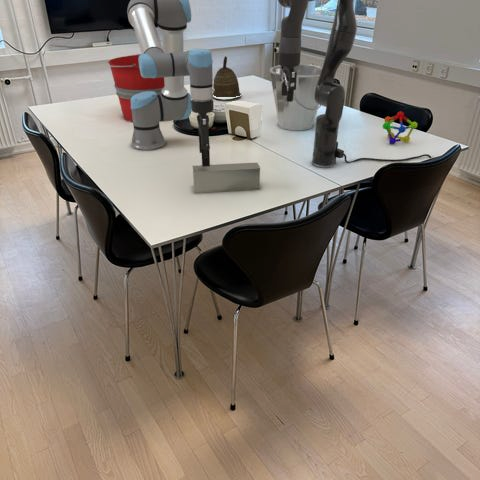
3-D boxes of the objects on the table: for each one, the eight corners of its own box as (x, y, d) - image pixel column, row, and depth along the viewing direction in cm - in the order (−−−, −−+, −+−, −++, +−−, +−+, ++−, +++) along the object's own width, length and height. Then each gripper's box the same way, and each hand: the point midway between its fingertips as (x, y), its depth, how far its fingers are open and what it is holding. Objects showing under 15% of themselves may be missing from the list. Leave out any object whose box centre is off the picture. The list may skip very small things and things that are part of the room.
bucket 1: (122, 106, 262) (115, 52, 246) (181, 107, 261) (178, 52, 245) (105, 124, 232) (96, 64, 216) (172, 125, 231) (167, 64, 216)
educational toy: (377, 146, 209) (379, 114, 202) (384, 138, 219) (386, 107, 211) (411, 149, 202) (415, 116, 195) (417, 141, 212) (420, 109, 204)
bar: (194, 193, 164) (193, 171, 159) (193, 186, 168) (192, 165, 164) (259, 189, 167) (260, 168, 162) (256, 183, 171) (257, 162, 167)
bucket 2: (296, 138, 215) (301, 78, 201) (255, 124, 234) (256, 68, 219) (335, 125, 232) (342, 70, 217) (294, 113, 251) (297, 61, 236)
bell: (227, 105, 294) (202, 96, 282) (238, 66, 289) (213, 55, 277) (243, 108, 280) (217, 98, 268) (255, 66, 275) (229, 55, 263)
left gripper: (216, 108, 139) (218, 171, 150) (210, 90, 160) (211, 146, 171) (192, 109, 138) (196, 172, 149) (189, 91, 159) (192, 147, 170)
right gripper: (305, 53, 147) (302, 103, 155) (295, 47, 159) (292, 93, 167) (283, 54, 146) (281, 103, 154) (274, 47, 158) (272, 93, 166)
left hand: (204, 159), depth 160 cm, fingers open, 13 cm apart
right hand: (286, 98), depth 161 cm, fingers open, 8 cm apart
